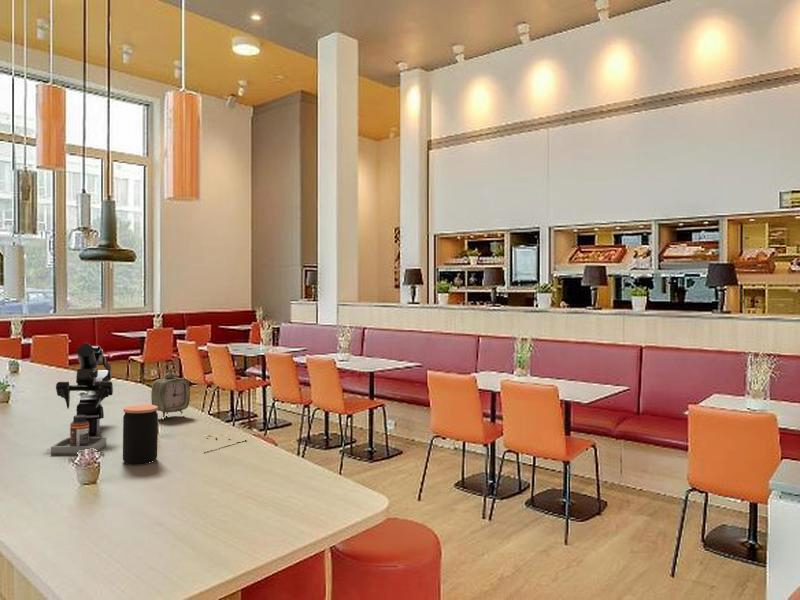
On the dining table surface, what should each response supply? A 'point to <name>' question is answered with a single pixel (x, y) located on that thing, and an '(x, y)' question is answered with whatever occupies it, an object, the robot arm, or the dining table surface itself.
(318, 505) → the dining table surface
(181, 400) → the tabletop clock
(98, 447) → the tray
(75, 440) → the supplement bottle
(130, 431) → the coffee jar
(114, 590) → the dining table surface
